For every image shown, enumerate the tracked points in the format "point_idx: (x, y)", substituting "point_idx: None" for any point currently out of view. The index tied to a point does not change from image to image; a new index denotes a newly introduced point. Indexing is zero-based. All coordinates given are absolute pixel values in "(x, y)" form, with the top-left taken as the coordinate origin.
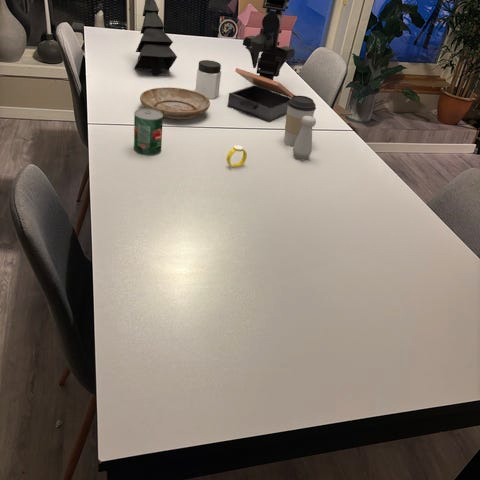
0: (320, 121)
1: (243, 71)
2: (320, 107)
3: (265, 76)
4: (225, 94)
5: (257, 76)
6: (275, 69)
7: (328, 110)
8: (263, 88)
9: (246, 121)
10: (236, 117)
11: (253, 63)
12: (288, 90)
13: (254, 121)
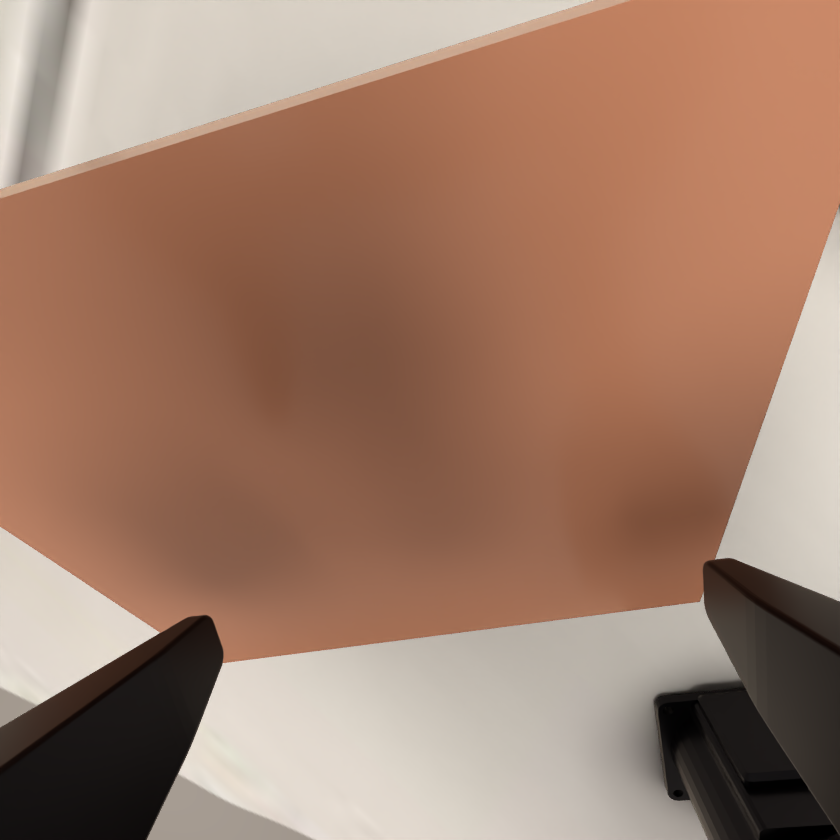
0: (82, 614)
1: (602, 6)
2: (274, 791)
3: (766, 821)
4: (835, 336)
5: (155, 142)
6: (84, 693)
7: (219, 793)
8: (702, 709)
9: (226, 40)
10: (334, 6)
11: (792, 604)
12: (79, 575)
13: (205, 123)
